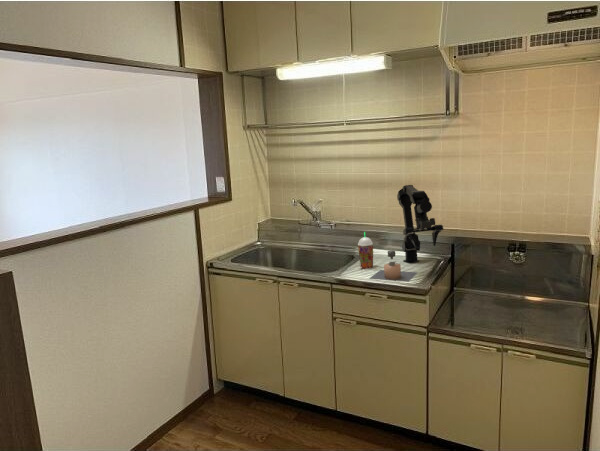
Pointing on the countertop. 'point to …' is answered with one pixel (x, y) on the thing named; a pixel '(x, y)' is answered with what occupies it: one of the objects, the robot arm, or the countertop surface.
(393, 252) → the pump head
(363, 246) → the smoothie
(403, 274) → the drip mat
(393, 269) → the pump bottle
